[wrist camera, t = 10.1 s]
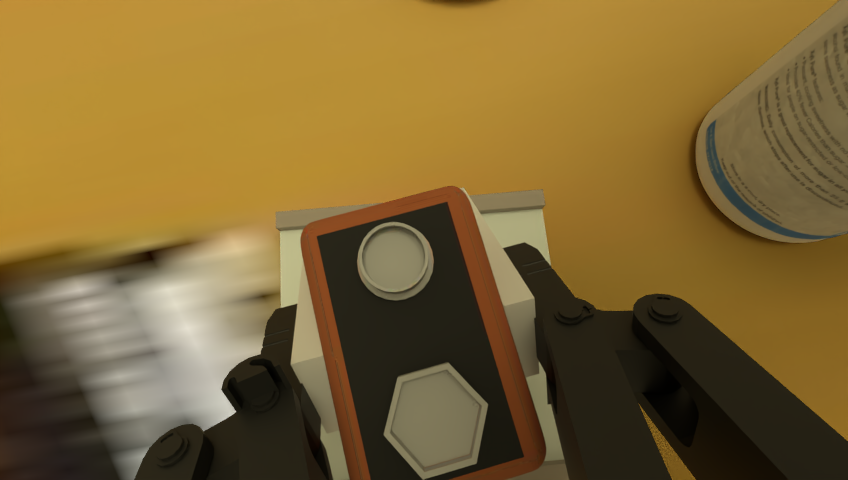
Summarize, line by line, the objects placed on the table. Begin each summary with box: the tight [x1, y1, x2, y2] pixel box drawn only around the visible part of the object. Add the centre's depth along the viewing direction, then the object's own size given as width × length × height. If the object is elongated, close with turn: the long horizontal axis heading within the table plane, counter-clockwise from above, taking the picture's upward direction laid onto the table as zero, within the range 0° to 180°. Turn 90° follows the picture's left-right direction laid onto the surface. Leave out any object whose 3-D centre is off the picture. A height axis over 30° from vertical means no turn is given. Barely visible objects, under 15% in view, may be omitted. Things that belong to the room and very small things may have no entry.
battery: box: [300, 186, 546, 480], centre depth 14 cm, size 4×7×10 cm, turn 15°
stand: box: [276, 189, 569, 480], centre depth 21 cm, size 13×13×4 cm
